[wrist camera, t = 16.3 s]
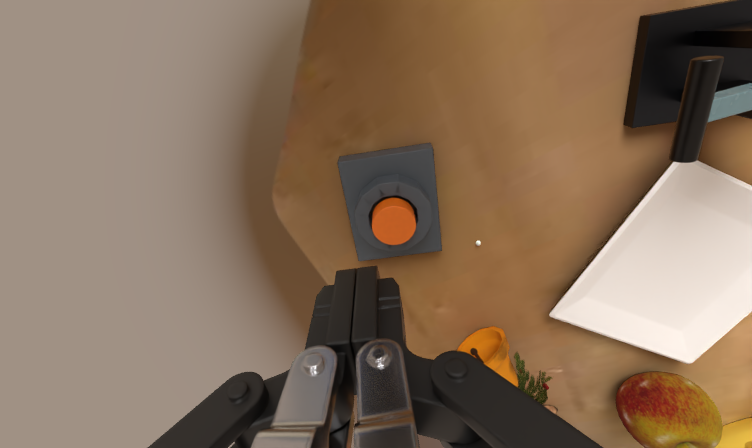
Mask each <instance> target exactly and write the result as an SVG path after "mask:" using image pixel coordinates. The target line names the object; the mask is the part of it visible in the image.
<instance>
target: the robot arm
mask: <svg viewBox="0 0 752 448" xmlns="http://www.w3.org/2000/svg"><path fill="white" fill-rule="evenodd" d="M312 316H313V318H312V320H311V324H310V328H309V333H308V338H307V342H306V347H305V350H304V351H302V352H301V353H300V354H299V355H297V357H296V358H295V359H294V361H293V362H292V365H291V368H290V369H289V370H288V371H286V372H284V373H282V374H279V375H277V376H274V377H272V378H269V379H267V380H264V381H263V379H262V377H261V376H260V375H259V374H257V373H254V372H244V373H240V374H237V375H235V376H233V377H231V378H230V379H229V380H227V381H226V382H225V383H224V384H222V385H221V386H220V387H219V388H218V389H216V390H215V391H214V392H213V393H212V394H211V395H209V396H208V397H207V398H206V399H205V400H203V401H202V402H201V403H200V404H199V405H198V406H196V407H195V408H194V409H193V410H192V411H190V413H188V414H187V415H186V416H185V417H184V418H182V419H181V420H180V421H179V422H178V423H176V424H175V425H174V426H173V427H172V428H171V429H169V430H168V431H167V432H166V433H165V434H163V435H162V436H161V437H160V438H159V439H157V440H156V441H155V442H154V443H153V444H152V445H150V446H149V447H148V448H228V447H229V446H230V445H231V444H232V443H233V442H235V444H234V445H233V446H232V447H231V448H351V443H352V434H353V428H354V448H420V446H419V440H418V435H417V434H419V435H423V436H427V437H431V438H434V439H438V440H440V442H441V444H442V445H443V447H444V448H603V447H601V446H600V445H599V444H597V443H596V442H594V441H593V440H591V439H590V438H589V437H587V436H586V435H584V434H583V433H582V432H580V431H579V430H577V429H576V428H574V427H573V426H572V425H570V424H569V423H567V422H566V421H565V420H563V419H562V418H560V417H559V416H557V415H556V414H555V413H553V412H552V411H550V410H549V409H548V408H546V407H545V406H543V405H542V404H540V403H539V402H538V401H536V400H535V399H533V398H532V397H530V396H529V395H528V394H526V393H525V392H523V391H522V390H521V389H519V388H518V387H516V386H515V385H513V384H512V383H511V382H509V381H508V380H506V379H505V378H504V377H502V376H501V375H499V374H498V373H496V372H495V371H494V370H492V369H491V368H489V367H488V366H486V365H485V364H484V363H482V362H481V361H479V360H478V359H477V358H475V357H474V356H472V355H470V354H468V353H466V352H462V351H448V352H444V353H442V354H440V355H439V356H437V357H436V358H435V359H434V360H431V359H426V358H421V357H419V356H416V355H414V354H413V353H412V352H410V351H409V350H408V349H407V346H406V335H405V324H404V315H403V308H402V302H401V296H400V290H399V285H398V284H397V283H396V282H395V280H394V279H393V278H385V279H380V276H379V271H378V267H377V266H370V267H362V268H357V269H356V268H355V269H347V270H339V271H337V272H336V277H335V283H334V285H329V286H324V287H323V288H322V290H321V291H320V292H319V294H318V295H317V297H316V301H315V306H314V311H313V315H312ZM354 395H357V413H358V414H357V415H358V421H357V423H356V424H355V426H354V419H355V418H354V412H353V406H354Z"/></svg>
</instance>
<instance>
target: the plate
mask: <svg viewBox="0 0 752 448" xmlns="http://www.w3.org/2000/svg"><path fill="white" fill-rule="evenodd" d="M751 311H752V186H751V185H749V184H747V183H745V182H742V181H740V180H738V179H736V178H734V177H732V176H729V175H727V174H725V173H723V172H721V171H719V170H717V169H714V168H712V167H710V166H708V165H706V164H704V163H702V162H699V161H695V162H692V163H678V162H674V161H672V162H671V163H670V165H669V166H668V167H667V168H666V169H665V171H664V172H663V173H662V174H661V176H660V177H659V178H658V179H657V181H656V182H655V183H654V184H653V185H652V187H651V188H650V189H649V190H648V192H647V193H646V194H645V195H644V196H643V198H642V199H641V200H640V201H639V203H638V204H637V205H636V206H635V208H634V209H633V210H632V211H631V212H630V214H629V215H628V216H627V217H626V219H625V220H624V221H623V222H622V224H621V225H620V226H619V227H618V228H617V230H616V231H615V232H614V233H613V235H612V236H611V237H610V238H609V240H608V241H607V242H606V243H605V244H604V246H603V247H602V248H601V249H600V251H599V252H598V253H597V254H596V255H595V257H594V258H593V259H592V260H591V262H590V263H589V264H588V265H587V267H586V268H585V269H584V270H583V271H582V273H581V274H580V275H579V276H578V278H577V279H576V280H575V281H574V283H573V284H572V285H571V286H570V287H569V289H568V290H567V291H566V292H565V294H564V295H563V296H562V297H561V299H560V300H559V301H558V302H557V303H556V305H555V306H554V307H553V308H552V310H551V311H550V313H549V315H550V317H552V318H555V319H558V320H561V321H564V322H567V323H570V324H572V325H575V326H578V327H581V328H584V329H587V330H590V331H593V332H596V333H599V334H601V335H604V336H607V337H610V338H613V339H616V340H619V341H622V342H625V343H628V344H630V345H633V346H636V347H639V348H642V349H645V350H648V351H651V352H654V353H657V354H659V355H662V356H665V357H668V358H671V359H674V360H677V361H680V362H683V363H685V364H690V363H693V362H694V361H695V360H696V359H697V358H698V357H700V356H701V355H702V354H703V353H704V352H705V351H706V350H708V349H709V348H710V347H711V346H712V345H713V344H715V343H716V342H717V341H718V340H719V339H720V338H721V337H723V336H724V335H725V334H726V333H727V332H728V331H729V330H731V329H732V328H733V327H734V326H735V325H736V324H738V323H739V322H740V321H741V320H742V319H743V318H744V317H746V316H747V315H748V314H749V313H750V312H751Z"/></svg>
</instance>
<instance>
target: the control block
mask: <svg viewBox="0 0 752 448" xmlns="http://www.w3.org/2000/svg"><path fill="white" fill-rule="evenodd" d="M338 168H339V172H340V177H341V181H342V186H343V191H344V195H345V200H346V205H347V209H348V214H349V218H350V223H351V228H352V232H353V237H354V242H355V246H356V251H357V255H358V260H359V261H365V260H372V259H380V258H388V257H396V256H404V255H412V254H420V253H427V252H435V251H442V245H441V233H440V222H439V211H438V199H437V188H436V177H435V166H434V154H433V147H432V145H431V143H425V144H419V145H412V146H406V147H399V148H392V149H386V150H379V151H373V152H366V153H360V154H353V155H347V156H340V157H339V160H338ZM388 198H399V199H402V200H405V201H406V202H408V203H409V204H410V205H411V207H412V208H413V211H414V215H415V220H416V230H415V232H414V234H413V236H412V237H411V238H410V239H409V240H408V241H406V242H404V243H402V244H398V245H389V244H385V243H383V242H381V241H380V240H378V239H377V238H376V236H375V235H374V233H373V230H372V214H373V211H374V209H375V207H376V206H377V204H378V203H380V202H381V201H383V200H385V199H388Z"/></svg>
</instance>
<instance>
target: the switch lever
mask: <svg viewBox="0 0 752 448" xmlns="http://www.w3.org/2000/svg"><path fill="white" fill-rule="evenodd" d="M723 61H724V57H723V56H703V57H696V58H693V59H691V61H690V64H689V69H688V73H687V78H686V82H685V87H684V91H683V96H682V100H681V105H680V110H679V114H678V119H677V123H676V128H675V132H674V137H673V141H672V146H671V150H670V155H669V159H670V160H671V161H674V162H678V163H692V162H695V161H697V160H698V157H699V154H700V150H701V146H702V142H703V138H704V134H705V130H706V126H707V123H708V122H711V121H715V120H718V119H722V118H725V117H729V116H732V115H736V114H739V113H743V112H746V111H750V110H752V83H749V84H745V85H741V86H737V87H734V88H730V89H726V90H722V91H719V92H716V88H717V84H718V80H719V76H720V72H721V68H722V65H723Z"/></svg>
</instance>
